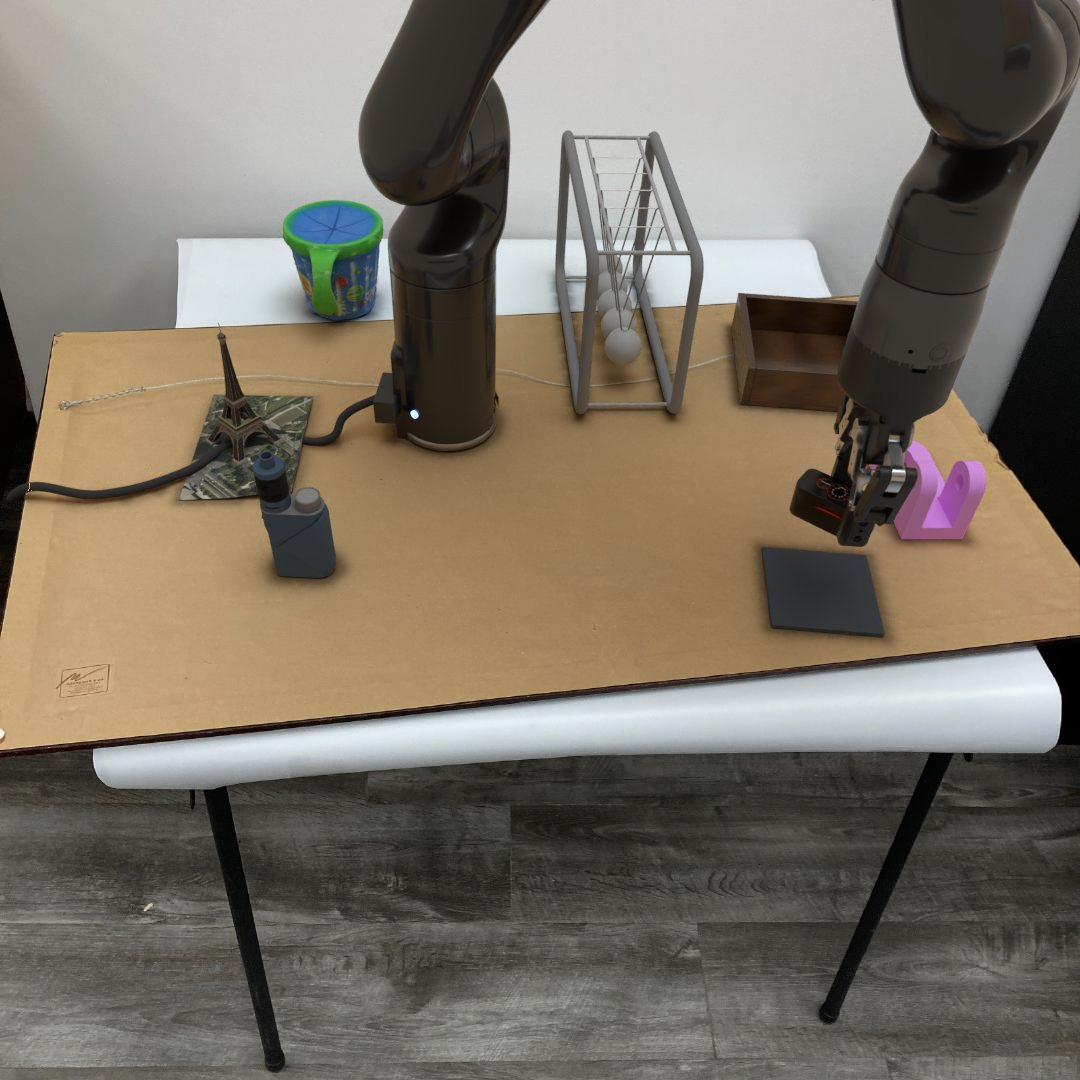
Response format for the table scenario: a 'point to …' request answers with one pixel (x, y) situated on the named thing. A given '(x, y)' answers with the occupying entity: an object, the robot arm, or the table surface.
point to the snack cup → (336, 255)
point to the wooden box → (790, 350)
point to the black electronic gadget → (821, 500)
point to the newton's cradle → (608, 278)
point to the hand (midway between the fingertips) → (845, 517)
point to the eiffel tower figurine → (245, 437)
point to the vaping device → (294, 522)
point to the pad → (821, 592)
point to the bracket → (939, 498)
